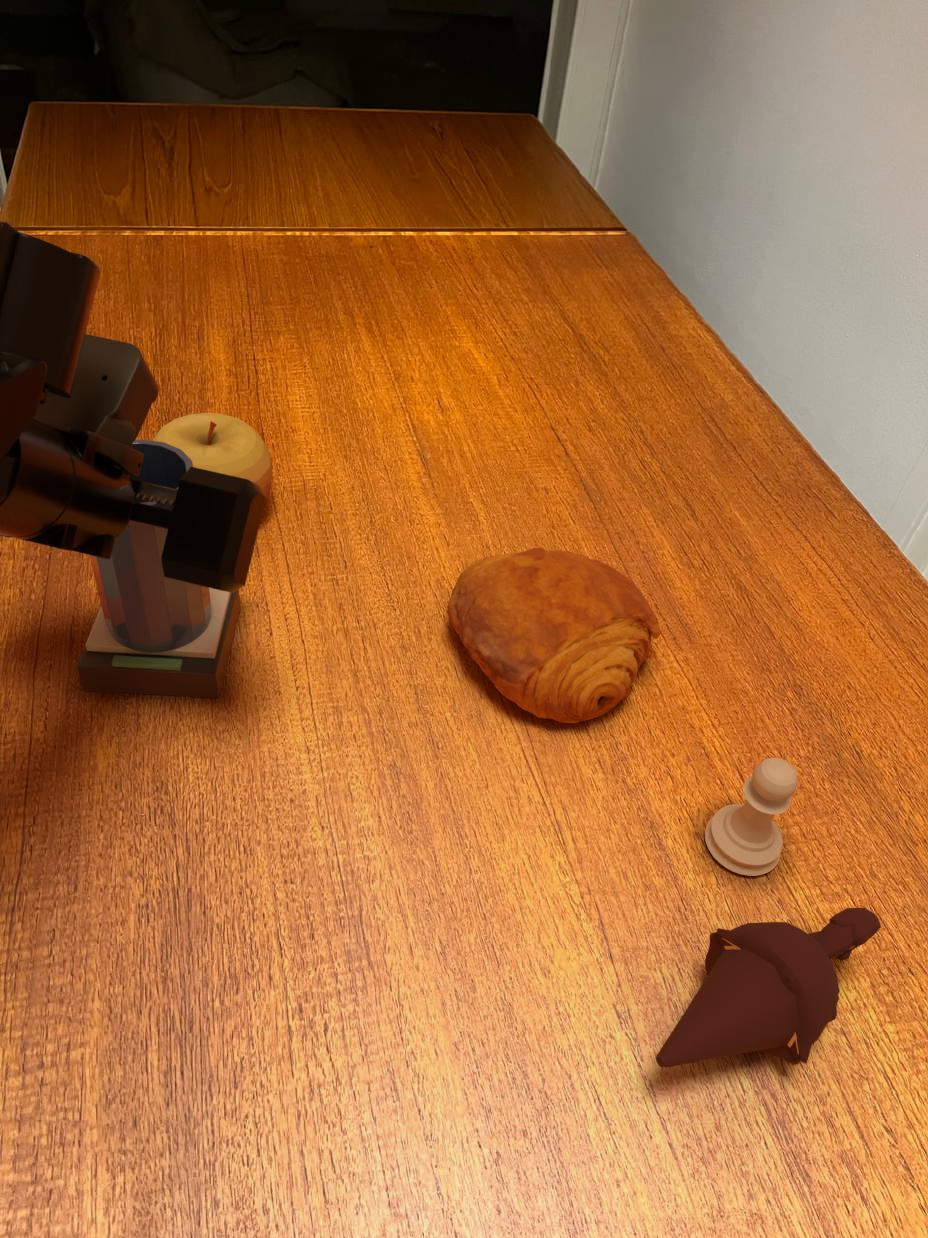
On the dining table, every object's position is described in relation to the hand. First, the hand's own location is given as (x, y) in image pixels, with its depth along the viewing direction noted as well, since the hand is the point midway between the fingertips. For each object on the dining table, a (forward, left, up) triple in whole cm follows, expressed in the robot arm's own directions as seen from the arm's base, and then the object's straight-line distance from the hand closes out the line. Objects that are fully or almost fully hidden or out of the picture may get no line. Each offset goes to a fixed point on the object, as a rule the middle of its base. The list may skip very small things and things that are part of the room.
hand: (155, 523), depth 62 cm
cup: (0, -1, -7) cm, 7 cm away
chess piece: (+38, -15, -10) cm, 42 cm away
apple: (0, +15, -10) cm, 18 cm away
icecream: (+36, -26, -10) cm, 46 cm away
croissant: (+27, +1, -10) cm, 29 cm away
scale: (0, -1, -10) cm, 10 cm away
